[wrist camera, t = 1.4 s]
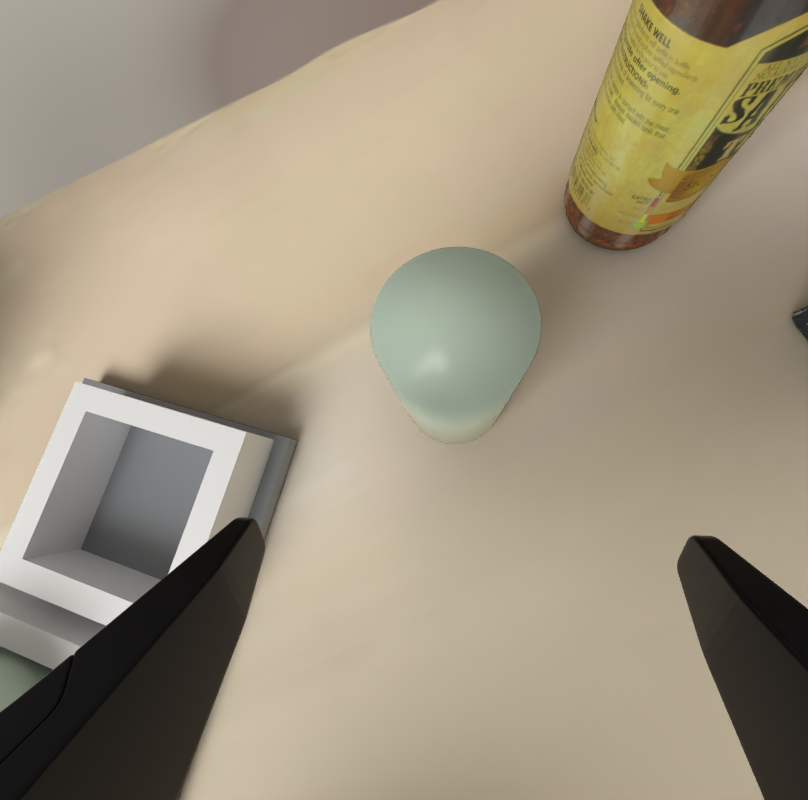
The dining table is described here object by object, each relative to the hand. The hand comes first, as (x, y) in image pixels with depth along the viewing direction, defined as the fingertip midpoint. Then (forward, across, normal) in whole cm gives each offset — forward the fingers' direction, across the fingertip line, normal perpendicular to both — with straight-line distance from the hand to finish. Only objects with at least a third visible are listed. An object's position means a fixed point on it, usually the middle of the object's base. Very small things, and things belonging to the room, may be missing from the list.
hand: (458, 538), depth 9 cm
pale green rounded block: (+13, 0, +5) cm, 14 cm away
